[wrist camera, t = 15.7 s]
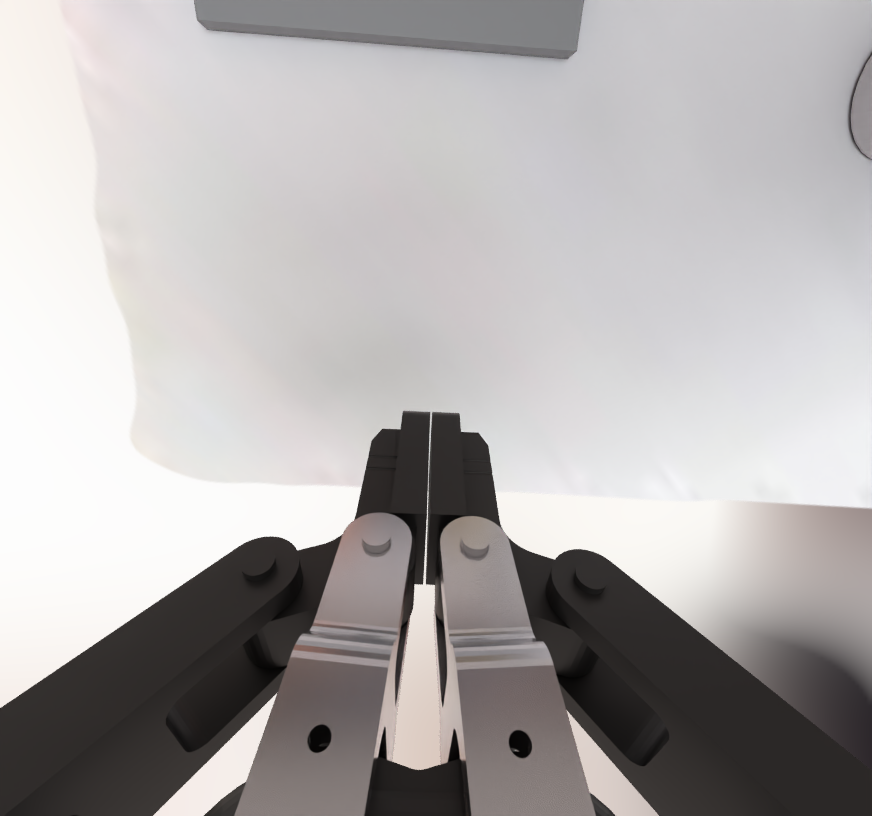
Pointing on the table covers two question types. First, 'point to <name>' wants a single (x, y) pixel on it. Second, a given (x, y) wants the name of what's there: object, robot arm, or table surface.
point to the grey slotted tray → (410, 22)
